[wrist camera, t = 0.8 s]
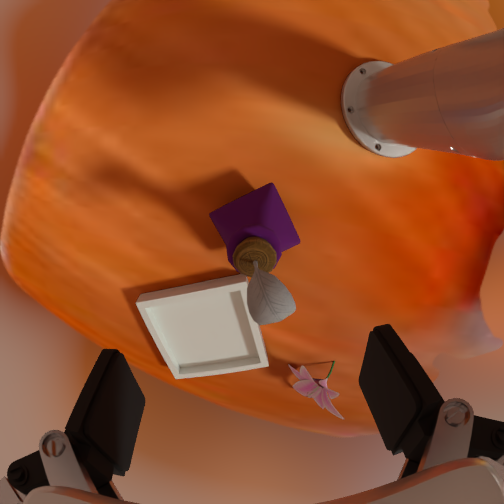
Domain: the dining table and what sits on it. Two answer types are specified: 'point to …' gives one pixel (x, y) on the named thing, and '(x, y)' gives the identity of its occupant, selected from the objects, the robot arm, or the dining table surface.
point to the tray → (204, 327)
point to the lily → (315, 389)
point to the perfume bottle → (259, 249)
